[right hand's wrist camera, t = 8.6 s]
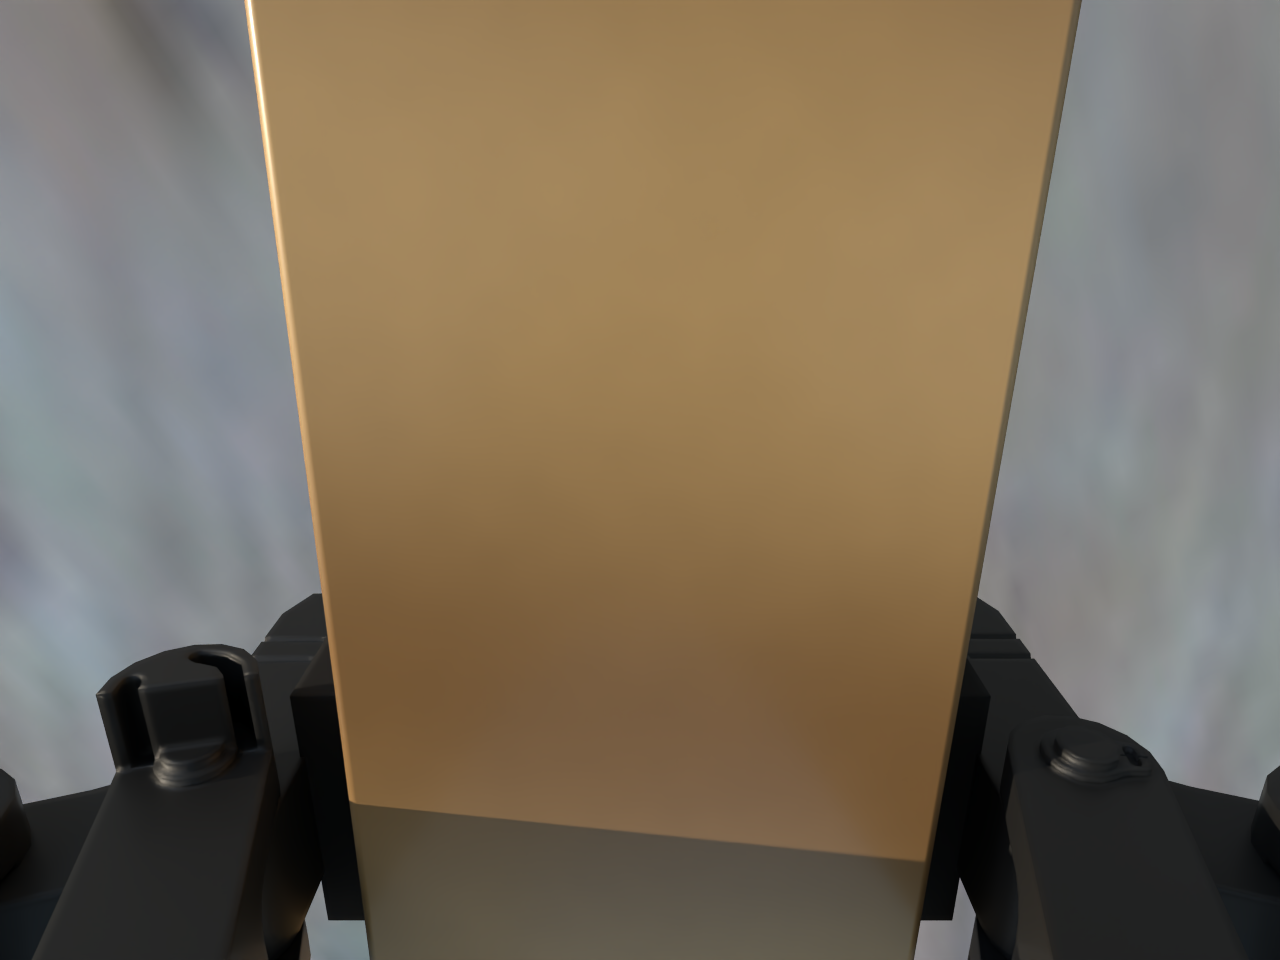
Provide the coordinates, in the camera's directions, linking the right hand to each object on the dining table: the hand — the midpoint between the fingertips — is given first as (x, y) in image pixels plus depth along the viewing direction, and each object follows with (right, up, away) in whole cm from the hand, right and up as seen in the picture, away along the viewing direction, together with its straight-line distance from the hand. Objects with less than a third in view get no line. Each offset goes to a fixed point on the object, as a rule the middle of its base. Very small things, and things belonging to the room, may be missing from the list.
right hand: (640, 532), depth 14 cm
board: (0, -24, +10) cm, 26 cm away
